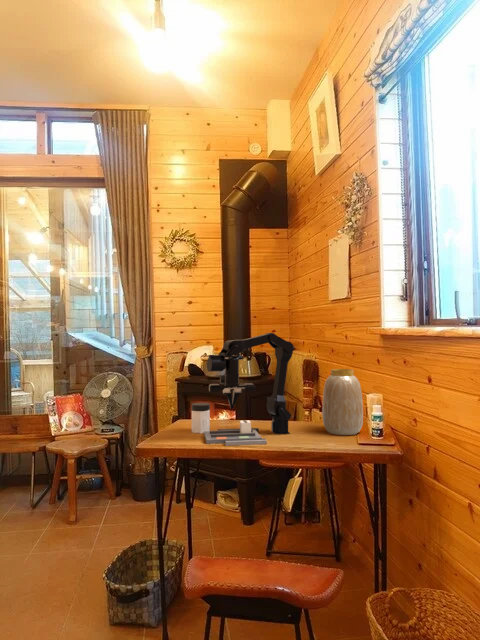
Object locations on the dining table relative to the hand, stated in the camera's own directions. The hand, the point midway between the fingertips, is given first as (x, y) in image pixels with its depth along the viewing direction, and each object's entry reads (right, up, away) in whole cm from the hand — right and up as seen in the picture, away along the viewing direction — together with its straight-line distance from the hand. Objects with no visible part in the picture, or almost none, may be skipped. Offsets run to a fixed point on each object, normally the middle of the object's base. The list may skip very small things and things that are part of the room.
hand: (232, 408), depth 185 cm
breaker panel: (0, -12, 0) cm, 12 cm away
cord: (+2, -12, +11) cm, 16 cm away
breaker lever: (+5, -10, +1) cm, 12 cm away
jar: (-14, -13, +13) cm, 23 cm away
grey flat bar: (+5, -12, -9) cm, 16 cm away
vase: (+48, -12, +11) cm, 51 cm away
